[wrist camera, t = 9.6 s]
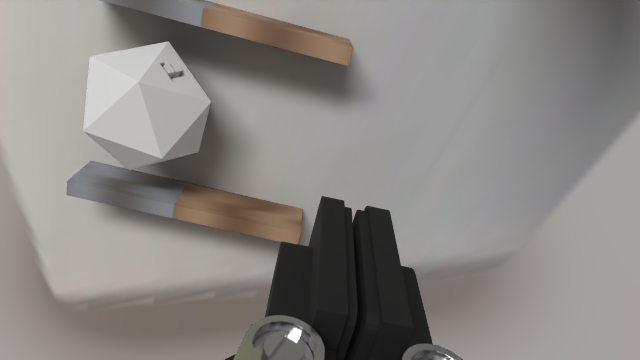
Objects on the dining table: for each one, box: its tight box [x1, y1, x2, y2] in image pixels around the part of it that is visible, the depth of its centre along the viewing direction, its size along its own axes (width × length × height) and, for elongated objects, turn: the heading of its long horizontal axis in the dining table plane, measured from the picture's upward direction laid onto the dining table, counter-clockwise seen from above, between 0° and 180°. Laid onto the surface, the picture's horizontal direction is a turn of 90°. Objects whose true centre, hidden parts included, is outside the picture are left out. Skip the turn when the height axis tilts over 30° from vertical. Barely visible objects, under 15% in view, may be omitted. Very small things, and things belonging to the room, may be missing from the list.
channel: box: [67, 0, 353, 244], centre depth 35 cm, size 18×16×4 cm
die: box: [83, 41, 211, 170], centre depth 33 cm, size 8×9×10 cm
